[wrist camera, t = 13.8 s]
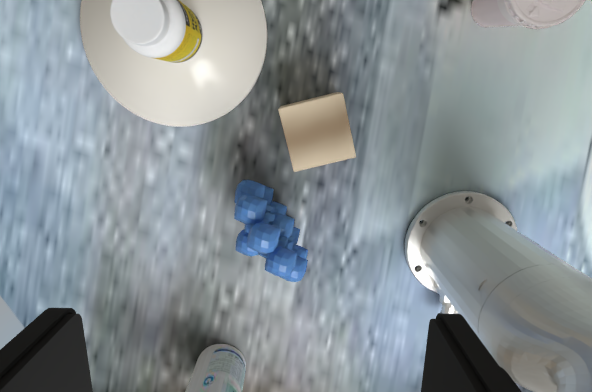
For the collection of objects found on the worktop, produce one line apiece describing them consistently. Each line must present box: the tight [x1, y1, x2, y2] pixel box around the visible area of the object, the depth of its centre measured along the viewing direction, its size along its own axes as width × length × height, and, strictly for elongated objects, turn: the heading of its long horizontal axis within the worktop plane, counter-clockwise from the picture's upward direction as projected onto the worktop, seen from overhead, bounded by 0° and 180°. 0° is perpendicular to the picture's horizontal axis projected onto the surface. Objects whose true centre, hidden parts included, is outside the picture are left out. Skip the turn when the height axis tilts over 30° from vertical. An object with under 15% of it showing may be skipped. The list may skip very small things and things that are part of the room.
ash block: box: [278, 92, 356, 172], centre depth 39 cm, size 6×6×6 cm
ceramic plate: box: [80, 0, 268, 127], centre depth 39 cm, size 18×18×2 cm
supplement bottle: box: [110, 0, 203, 63], centre depth 33 cm, size 5×5×10 cm
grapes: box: [234, 180, 308, 282], centre depth 39 cm, size 12×7×12 cm, turn 29°
